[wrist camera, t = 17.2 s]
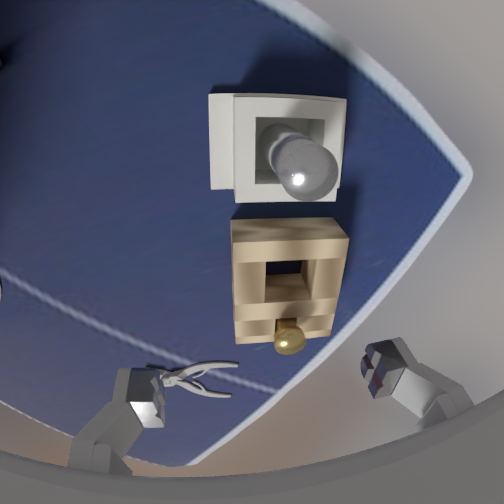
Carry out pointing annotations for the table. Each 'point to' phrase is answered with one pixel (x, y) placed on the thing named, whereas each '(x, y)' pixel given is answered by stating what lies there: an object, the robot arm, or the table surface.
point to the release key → (288, 336)
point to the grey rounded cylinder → (299, 162)
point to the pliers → (179, 375)
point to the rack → (248, 134)
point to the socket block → (286, 275)
